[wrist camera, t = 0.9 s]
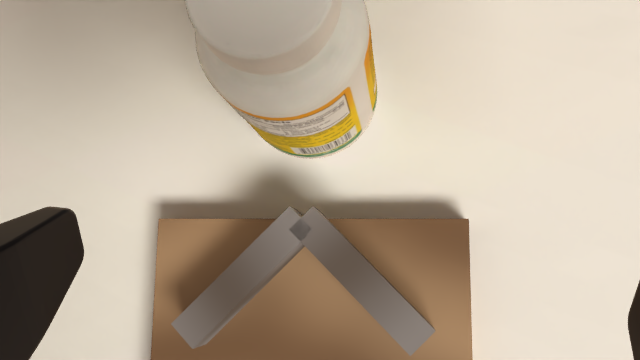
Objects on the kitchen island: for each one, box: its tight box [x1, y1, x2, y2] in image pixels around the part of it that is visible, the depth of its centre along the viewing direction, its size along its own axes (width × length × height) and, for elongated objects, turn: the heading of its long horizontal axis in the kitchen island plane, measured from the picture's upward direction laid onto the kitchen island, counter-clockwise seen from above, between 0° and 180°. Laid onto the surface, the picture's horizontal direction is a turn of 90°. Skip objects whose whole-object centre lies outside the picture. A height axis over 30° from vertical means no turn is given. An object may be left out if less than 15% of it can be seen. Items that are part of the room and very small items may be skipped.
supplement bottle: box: [185, 0, 377, 159], centre depth 20 cm, size 5×5×10 cm
